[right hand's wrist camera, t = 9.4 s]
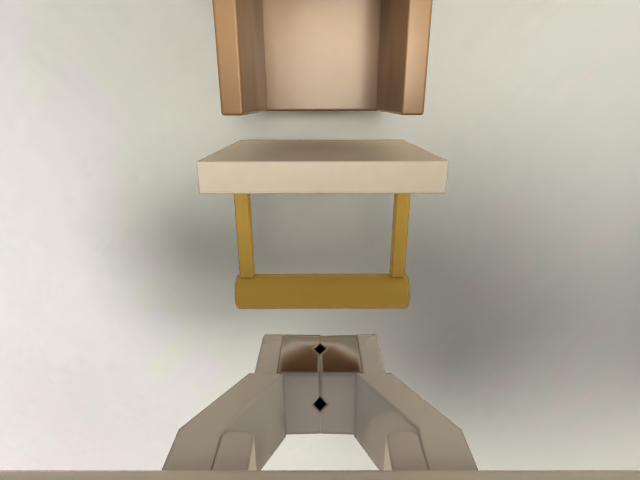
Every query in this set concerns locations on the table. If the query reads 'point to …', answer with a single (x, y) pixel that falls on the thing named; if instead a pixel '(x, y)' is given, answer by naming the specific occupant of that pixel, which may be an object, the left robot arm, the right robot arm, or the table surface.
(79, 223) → the table surface
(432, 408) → the right robot arm
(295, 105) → the drawer
